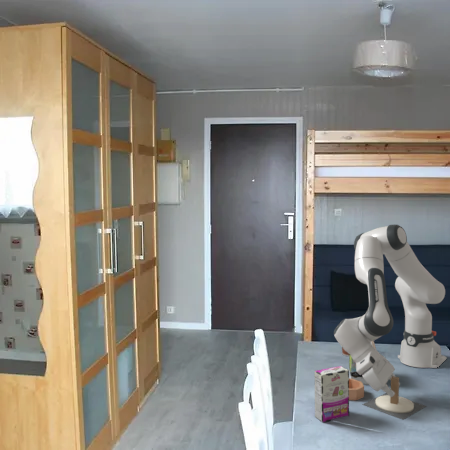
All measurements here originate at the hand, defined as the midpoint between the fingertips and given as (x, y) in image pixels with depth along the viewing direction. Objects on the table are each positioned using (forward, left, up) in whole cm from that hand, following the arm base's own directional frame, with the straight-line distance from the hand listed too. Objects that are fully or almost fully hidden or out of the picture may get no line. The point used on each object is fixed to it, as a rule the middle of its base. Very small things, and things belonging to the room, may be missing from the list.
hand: (396, 390), depth 182 cm
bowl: (+4, -17, -6) cm, 19 cm away
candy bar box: (+23, -10, -6) cm, 26 cm away
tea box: (-14, -23, -6) cm, 28 cm away
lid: (0, 0, -5) cm, 5 cm away
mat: (0, 0, -6) cm, 6 cm away
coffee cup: (-36, -45, -6) cm, 58 cm away
